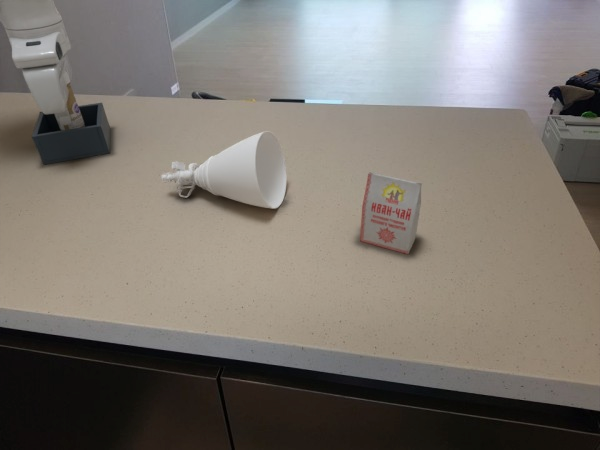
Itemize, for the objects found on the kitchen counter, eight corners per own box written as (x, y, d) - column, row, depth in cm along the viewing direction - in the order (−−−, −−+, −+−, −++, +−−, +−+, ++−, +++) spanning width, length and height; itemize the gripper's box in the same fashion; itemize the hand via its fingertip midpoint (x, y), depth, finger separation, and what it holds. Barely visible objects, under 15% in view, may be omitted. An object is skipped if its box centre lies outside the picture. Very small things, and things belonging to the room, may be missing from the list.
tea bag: (369, 226, 66) (373, 165, 59) (415, 238, 63) (425, 176, 57) (360, 241, 63) (363, 179, 57) (408, 254, 60) (417, 191, 54)
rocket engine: (147, 136, 69) (254, 121, 63) (191, 152, 80) (286, 141, 74) (147, 211, 68) (255, 204, 62) (191, 218, 79) (287, 212, 73)
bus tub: (43, 164, 83) (31, 137, 80) (50, 137, 92) (39, 111, 89) (109, 153, 86) (100, 125, 82) (110, 128, 95) (102, 102, 91)
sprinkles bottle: (88, 145, 87) (63, 76, 79) (63, 148, 87) (36, 79, 78) (92, 135, 91) (68, 67, 83) (68, 138, 90) (42, 70, 82)
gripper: (28, 28, 84) (56, 99, 93) (9, 61, 69) (44, 143, 77) (65, 24, 86) (88, 95, 94) (54, 56, 70) (83, 137, 79)
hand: (68, 117), depth 85 cm, fingers closed on sprinkles bottle, 4 cm apart
